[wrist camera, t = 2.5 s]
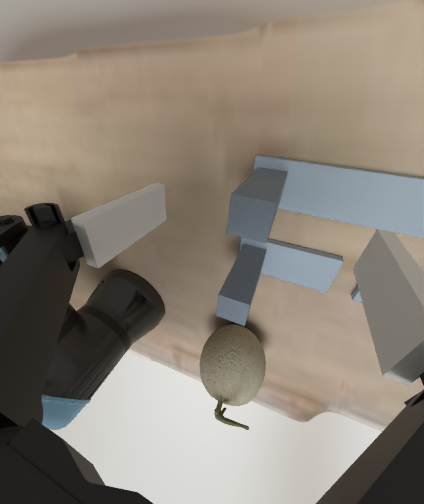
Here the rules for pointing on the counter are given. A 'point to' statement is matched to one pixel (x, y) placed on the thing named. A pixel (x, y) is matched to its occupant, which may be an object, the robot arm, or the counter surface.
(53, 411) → the robot arm
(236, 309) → the lane
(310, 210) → the strip
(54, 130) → the counter surface
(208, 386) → the fruit
